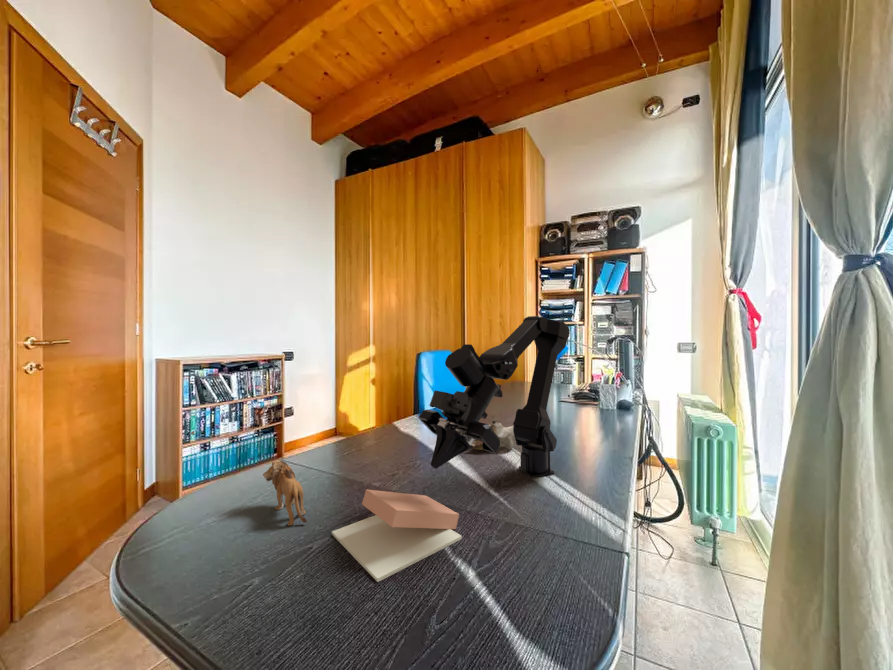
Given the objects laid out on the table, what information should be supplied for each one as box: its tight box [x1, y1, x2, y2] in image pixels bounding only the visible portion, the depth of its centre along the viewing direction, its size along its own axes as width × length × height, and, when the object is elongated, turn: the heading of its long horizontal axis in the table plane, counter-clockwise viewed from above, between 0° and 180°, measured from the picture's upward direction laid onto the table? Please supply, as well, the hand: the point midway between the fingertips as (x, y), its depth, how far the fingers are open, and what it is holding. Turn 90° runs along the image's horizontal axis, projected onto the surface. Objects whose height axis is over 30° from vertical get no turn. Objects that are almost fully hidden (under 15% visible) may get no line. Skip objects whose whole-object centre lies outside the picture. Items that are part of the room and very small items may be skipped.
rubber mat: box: [331, 514, 463, 583], centre depth 61 cm, size 16×16×1 cm
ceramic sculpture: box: [471, 420, 516, 451], centre depth 108 cm, size 11×9×15 cm
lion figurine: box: [262, 459, 308, 526], centre depth 70 cm, size 15×5×9 cm, turn 48°
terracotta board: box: [361, 488, 460, 530], centre depth 63 cm, size 2×10×14 cm
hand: (433, 467), depth 67 cm, fingers closed
